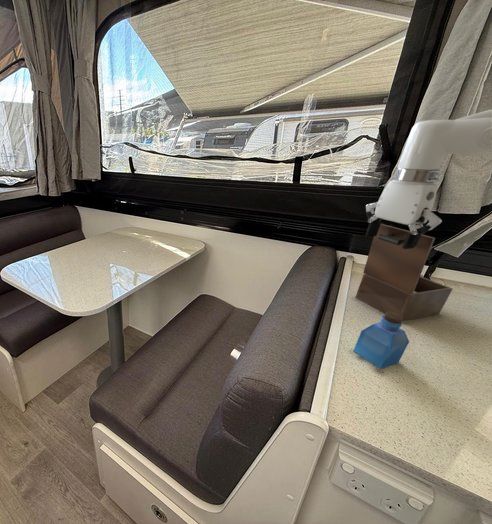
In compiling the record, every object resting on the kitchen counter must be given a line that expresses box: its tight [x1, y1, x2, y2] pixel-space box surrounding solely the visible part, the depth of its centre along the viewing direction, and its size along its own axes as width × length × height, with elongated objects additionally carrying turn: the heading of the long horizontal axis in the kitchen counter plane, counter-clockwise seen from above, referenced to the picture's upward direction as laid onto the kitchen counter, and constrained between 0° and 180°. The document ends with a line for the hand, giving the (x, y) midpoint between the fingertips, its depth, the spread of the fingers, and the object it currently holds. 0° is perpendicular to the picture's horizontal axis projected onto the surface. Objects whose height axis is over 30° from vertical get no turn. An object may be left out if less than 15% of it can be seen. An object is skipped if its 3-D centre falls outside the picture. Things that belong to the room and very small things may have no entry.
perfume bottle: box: [353, 311, 410, 370], centre depth 62 cm, size 6×6×12 cm
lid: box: [362, 223, 436, 294], centre depth 76 cm, size 16×14×5 cm
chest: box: [354, 273, 453, 322], centre depth 83 cm, size 16×14×9 cm
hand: (388, 241), depth 73 cm, fingers open, 9 cm apart
